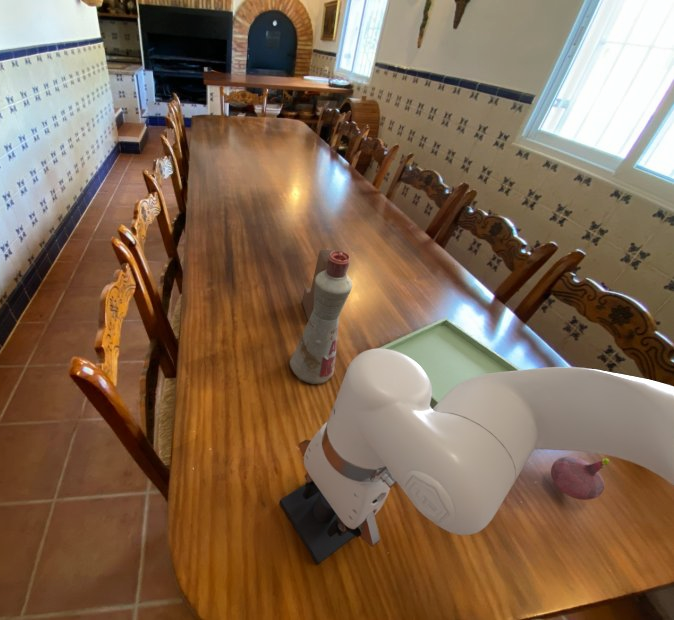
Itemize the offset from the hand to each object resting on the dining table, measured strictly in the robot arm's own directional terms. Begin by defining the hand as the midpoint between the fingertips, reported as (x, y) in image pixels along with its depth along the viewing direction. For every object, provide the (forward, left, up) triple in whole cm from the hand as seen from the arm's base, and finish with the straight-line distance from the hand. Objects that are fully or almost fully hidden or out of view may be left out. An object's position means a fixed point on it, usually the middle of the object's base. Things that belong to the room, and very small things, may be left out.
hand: (324, 510), depth 51 cm
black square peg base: (0, 0, -2) cm, 2 cm away
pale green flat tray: (+6, -43, -2) cm, 43 cm away
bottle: (+23, -16, -2) cm, 28 cm away
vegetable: (-16, -37, -2) cm, 40 cm away
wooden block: (+37, -28, -2) cm, 46 cm away
